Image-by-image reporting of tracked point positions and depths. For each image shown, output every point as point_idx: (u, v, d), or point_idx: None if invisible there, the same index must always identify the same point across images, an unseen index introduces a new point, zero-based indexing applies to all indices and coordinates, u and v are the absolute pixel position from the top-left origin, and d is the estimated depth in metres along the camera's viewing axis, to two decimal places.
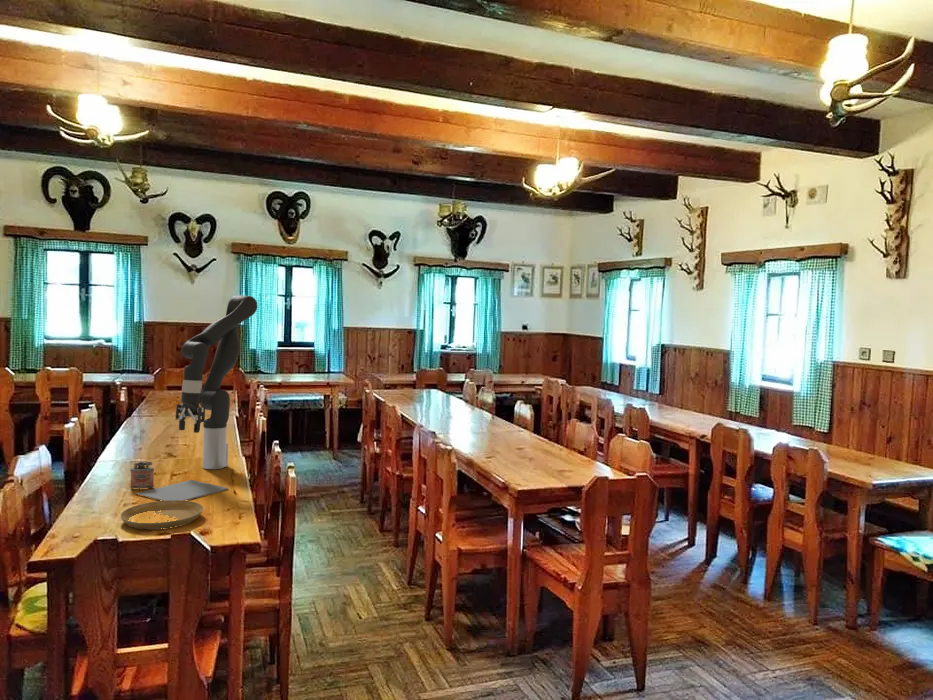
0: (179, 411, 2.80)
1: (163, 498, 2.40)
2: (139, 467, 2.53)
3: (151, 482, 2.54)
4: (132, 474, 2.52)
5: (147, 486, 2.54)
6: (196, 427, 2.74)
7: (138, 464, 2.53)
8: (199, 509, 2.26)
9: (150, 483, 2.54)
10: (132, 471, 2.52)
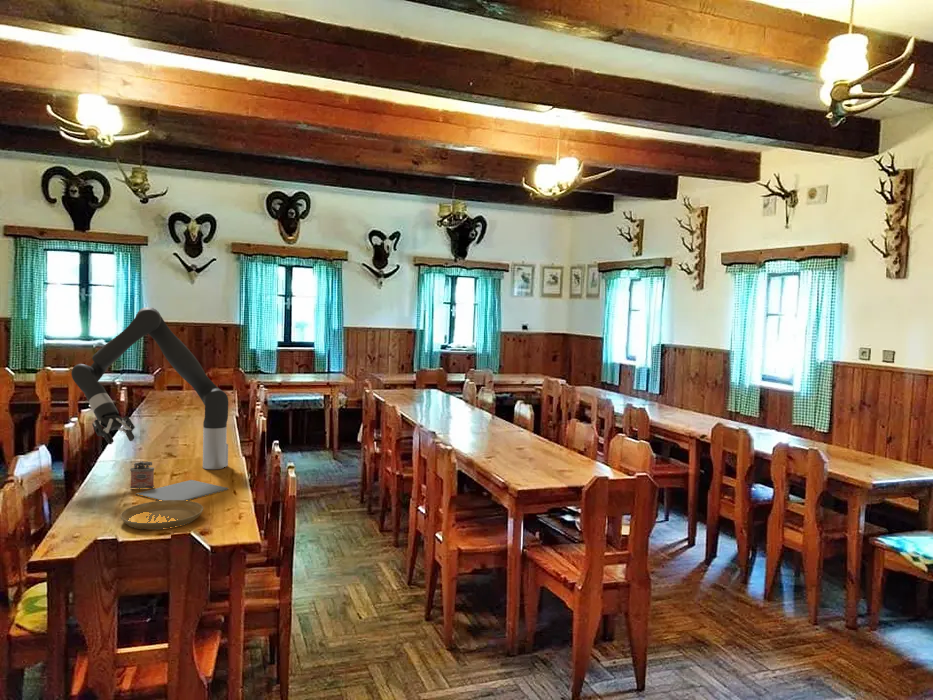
0: (126, 424, 2.66)
1: (163, 498, 2.40)
2: (139, 467, 2.53)
3: (151, 482, 2.54)
4: (132, 474, 2.52)
5: (147, 486, 2.54)
6: None
7: (138, 464, 2.53)
8: (199, 509, 2.26)
9: (150, 483, 2.54)
10: (132, 471, 2.52)
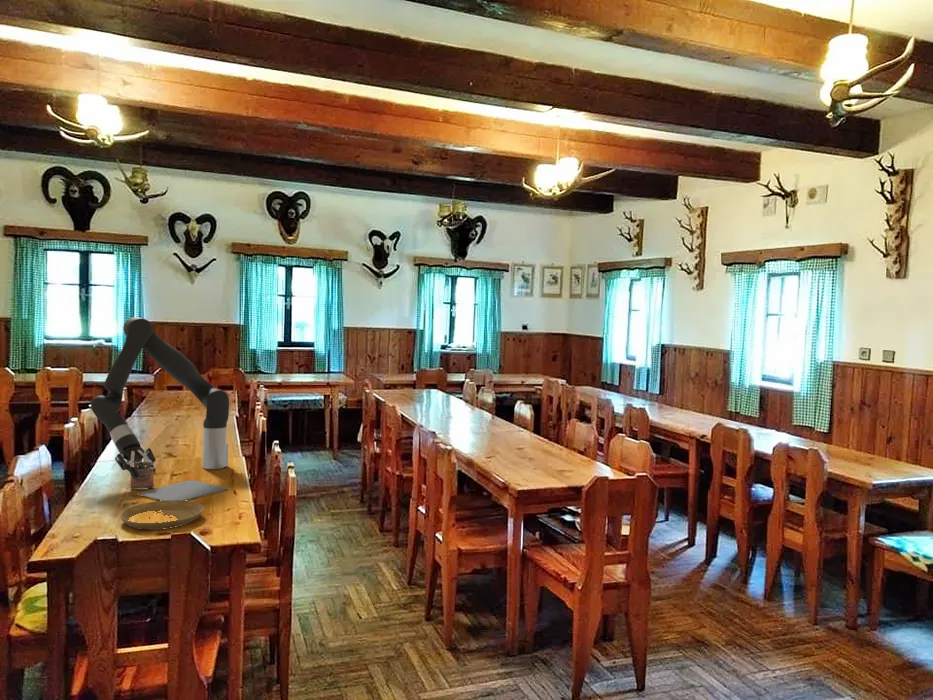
0: (148, 457, 2.60)
1: (163, 498, 2.40)
2: (139, 467, 2.53)
3: (151, 482, 2.54)
4: None
5: (147, 486, 2.54)
6: None
7: (138, 464, 2.53)
8: (199, 509, 2.26)
9: (150, 483, 2.54)
10: None
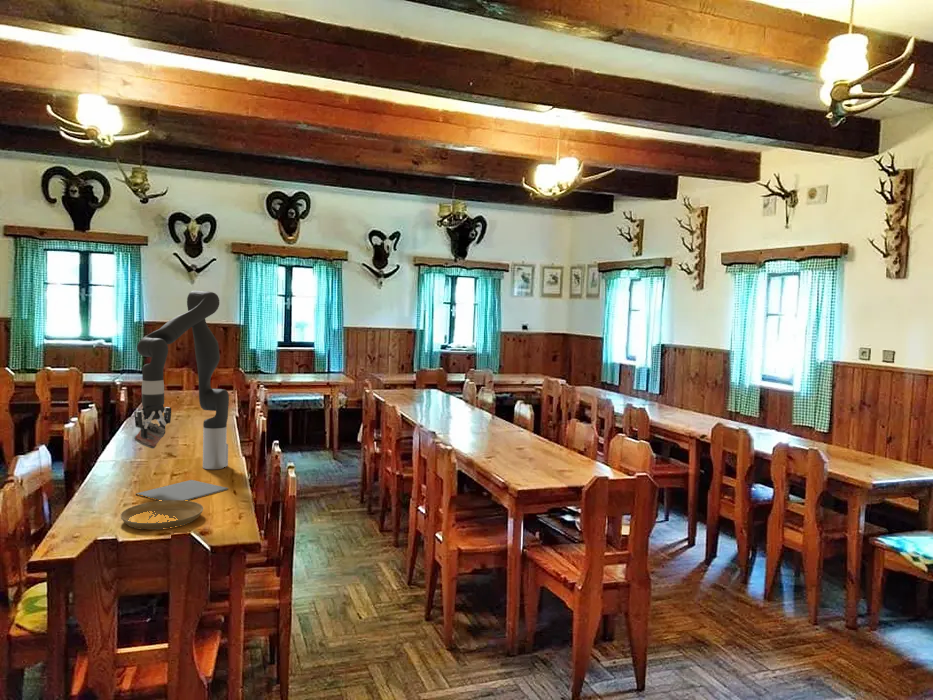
0: (165, 414, 2.58)
1: (163, 498, 2.40)
2: (151, 429, 2.52)
3: (155, 444, 2.56)
4: None
5: (150, 445, 2.55)
6: None
7: (152, 426, 2.51)
8: (199, 509, 2.26)
9: (154, 444, 2.56)
10: None
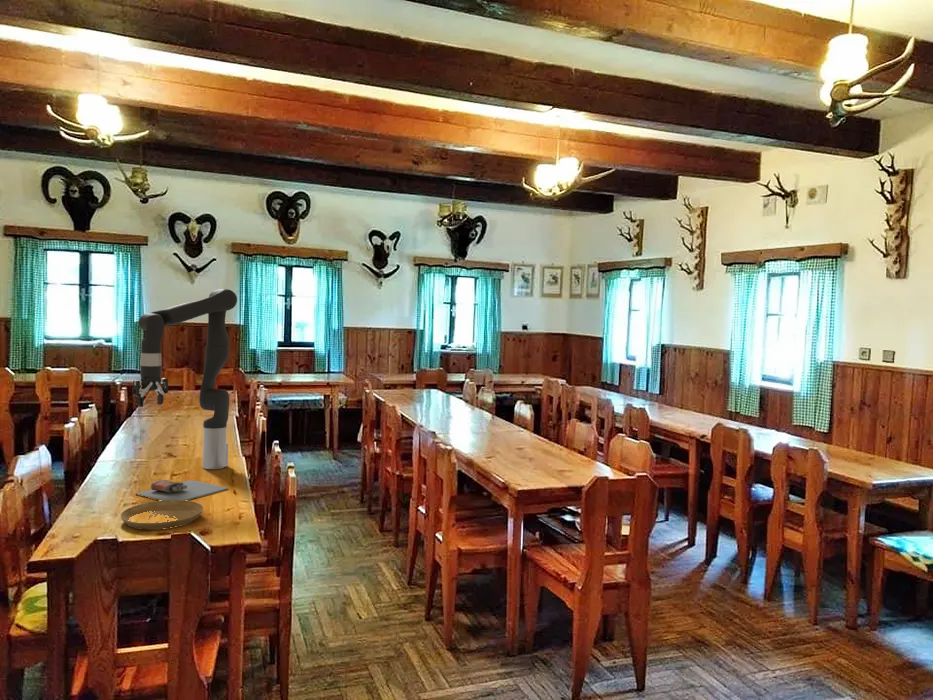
0: (162, 385, 2.75)
1: (163, 498, 2.40)
2: None
3: None
4: None
5: None
6: None
7: (176, 490, 2.47)
8: (199, 509, 2.26)
9: None
10: (166, 491, 2.46)
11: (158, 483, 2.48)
